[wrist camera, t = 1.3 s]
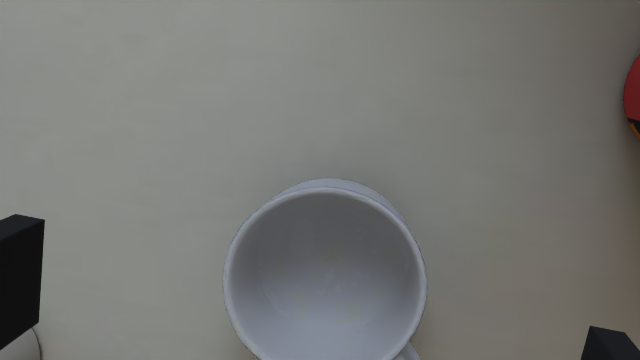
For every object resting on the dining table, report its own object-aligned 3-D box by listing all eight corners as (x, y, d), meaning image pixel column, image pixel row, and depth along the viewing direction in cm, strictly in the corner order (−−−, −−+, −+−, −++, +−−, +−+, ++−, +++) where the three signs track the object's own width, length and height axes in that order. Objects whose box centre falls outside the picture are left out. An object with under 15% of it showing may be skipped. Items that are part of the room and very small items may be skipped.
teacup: (225, 210, 40) (184, 246, 32) (372, 133, 38) (366, 152, 30) (326, 387, 42) (310, 462, 34) (473, 322, 40) (491, 387, 32)
